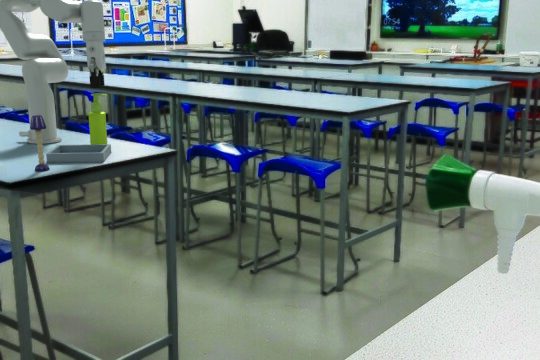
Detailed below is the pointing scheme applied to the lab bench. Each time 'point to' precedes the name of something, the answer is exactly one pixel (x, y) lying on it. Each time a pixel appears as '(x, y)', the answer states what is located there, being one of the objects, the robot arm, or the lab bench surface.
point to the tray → (79, 153)
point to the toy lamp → (39, 140)
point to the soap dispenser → (97, 122)
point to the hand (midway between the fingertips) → (97, 87)
